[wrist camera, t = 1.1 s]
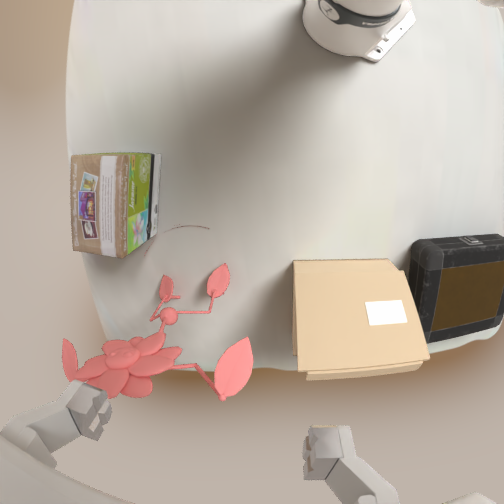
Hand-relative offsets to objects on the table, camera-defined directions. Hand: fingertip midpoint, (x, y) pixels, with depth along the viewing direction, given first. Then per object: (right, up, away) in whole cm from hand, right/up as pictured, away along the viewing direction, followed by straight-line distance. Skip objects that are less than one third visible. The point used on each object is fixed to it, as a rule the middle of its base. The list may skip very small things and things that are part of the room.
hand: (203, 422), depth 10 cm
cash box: (+45, +1, +42) cm, 61 cm away
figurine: (-9, +5, +45) cm, 46 cm away
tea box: (-19, +18, +41) cm, 49 cm away
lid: (+17, -4, +31) cm, 36 cm away
